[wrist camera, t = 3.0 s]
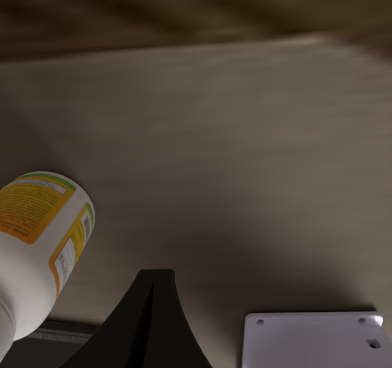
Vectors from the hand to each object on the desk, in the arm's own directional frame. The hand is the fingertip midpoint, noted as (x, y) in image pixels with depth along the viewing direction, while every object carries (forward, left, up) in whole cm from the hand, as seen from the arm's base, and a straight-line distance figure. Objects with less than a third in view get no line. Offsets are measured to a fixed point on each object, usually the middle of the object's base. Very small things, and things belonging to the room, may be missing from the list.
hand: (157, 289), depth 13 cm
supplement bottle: (+7, 0, -7) cm, 10 cm away
